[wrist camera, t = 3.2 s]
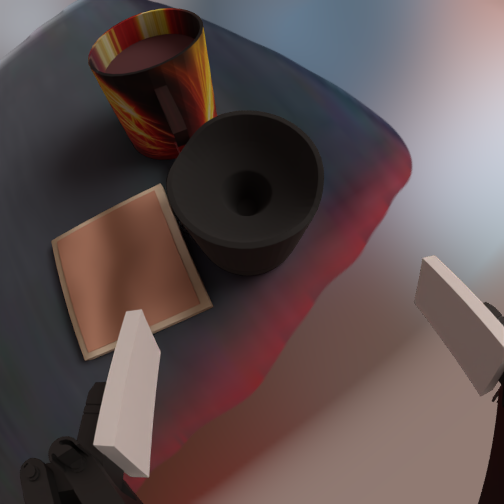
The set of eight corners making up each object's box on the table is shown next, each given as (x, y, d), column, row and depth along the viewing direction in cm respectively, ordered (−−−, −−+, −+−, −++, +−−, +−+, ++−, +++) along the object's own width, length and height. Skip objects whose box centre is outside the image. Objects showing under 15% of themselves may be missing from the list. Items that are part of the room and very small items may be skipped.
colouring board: (91, 359, 24) (83, 360, 23) (57, 244, 27) (50, 240, 26) (213, 306, 26) (211, 305, 24) (164, 189, 29) (160, 182, 27)
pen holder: (319, 254, 27) (353, 209, 17) (219, 298, 26) (197, 276, 16) (273, 166, 29) (281, 95, 19) (180, 203, 28) (148, 142, 19)
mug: (201, 201, 28) (171, 118, 17) (114, 133, 31) (69, 58, 19) (267, 134, 30) (272, 41, 19) (175, 81, 33) (153, 1, 21)
